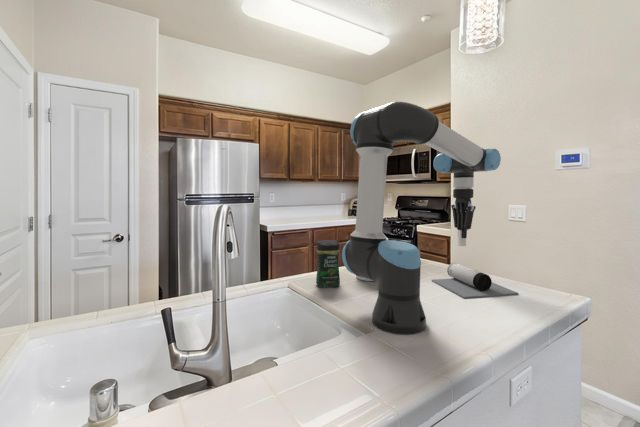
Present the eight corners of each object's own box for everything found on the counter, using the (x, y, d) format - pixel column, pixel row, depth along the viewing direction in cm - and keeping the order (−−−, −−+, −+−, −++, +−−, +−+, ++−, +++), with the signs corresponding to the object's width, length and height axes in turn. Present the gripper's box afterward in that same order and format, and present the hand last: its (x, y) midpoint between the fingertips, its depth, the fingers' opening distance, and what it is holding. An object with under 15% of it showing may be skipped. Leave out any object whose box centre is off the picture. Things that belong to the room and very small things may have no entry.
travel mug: (443, 272, 136) (475, 285, 116) (452, 259, 136) (485, 271, 117) (453, 280, 137) (486, 295, 117) (462, 268, 137) (496, 281, 118)
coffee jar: (318, 289, 124) (317, 242, 123) (315, 283, 132) (314, 239, 130) (342, 287, 125) (341, 241, 124) (337, 281, 133) (337, 238, 132)
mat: (518, 294, 115) (518, 292, 115) (463, 298, 111) (463, 296, 111) (478, 278, 137) (478, 276, 136) (431, 281, 133) (431, 279, 133)
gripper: (482, 188, 122) (480, 248, 124) (461, 188, 135) (460, 242, 137) (464, 188, 121) (463, 248, 123) (445, 188, 134) (444, 243, 135)
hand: (461, 245), depth 130 cm, fingers closed
